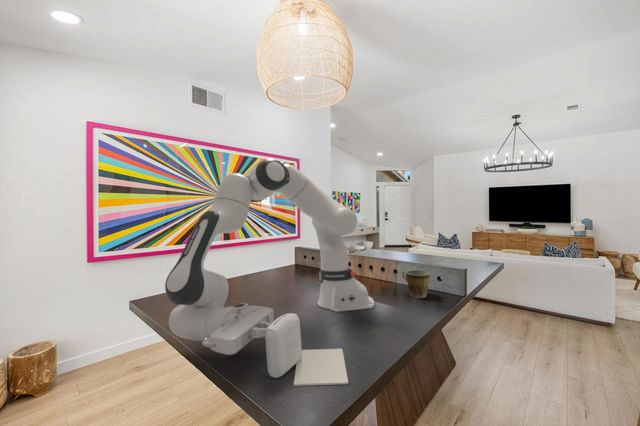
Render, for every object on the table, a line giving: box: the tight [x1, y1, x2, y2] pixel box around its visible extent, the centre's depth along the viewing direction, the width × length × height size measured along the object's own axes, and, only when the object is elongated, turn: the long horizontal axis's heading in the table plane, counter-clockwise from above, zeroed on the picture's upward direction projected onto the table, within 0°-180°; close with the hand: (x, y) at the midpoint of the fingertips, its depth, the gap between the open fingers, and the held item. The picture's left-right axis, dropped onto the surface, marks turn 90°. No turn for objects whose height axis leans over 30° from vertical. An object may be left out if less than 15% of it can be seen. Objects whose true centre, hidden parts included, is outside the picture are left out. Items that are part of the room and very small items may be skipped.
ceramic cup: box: [401, 269, 431, 299], centre depth 123 cm, size 13×10×10 cm
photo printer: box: [264, 312, 303, 379], centre depth 70 cm, size 10×4×12 cm, turn 150°
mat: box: [293, 348, 349, 387], centre depth 70 cm, size 12×15×1 cm
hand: (273, 331), depth 70 cm, fingers closed
